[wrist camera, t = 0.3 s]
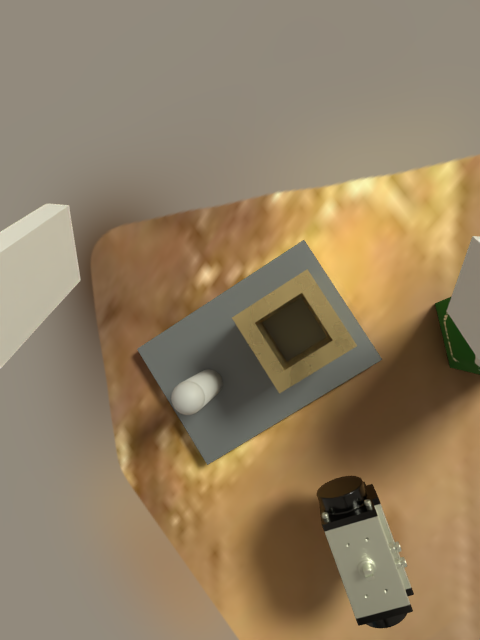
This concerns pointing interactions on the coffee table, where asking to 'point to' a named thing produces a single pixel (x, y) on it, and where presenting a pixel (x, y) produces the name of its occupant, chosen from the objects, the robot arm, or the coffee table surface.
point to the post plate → (248, 358)
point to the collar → (308, 360)
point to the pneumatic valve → (365, 552)
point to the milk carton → (456, 342)
